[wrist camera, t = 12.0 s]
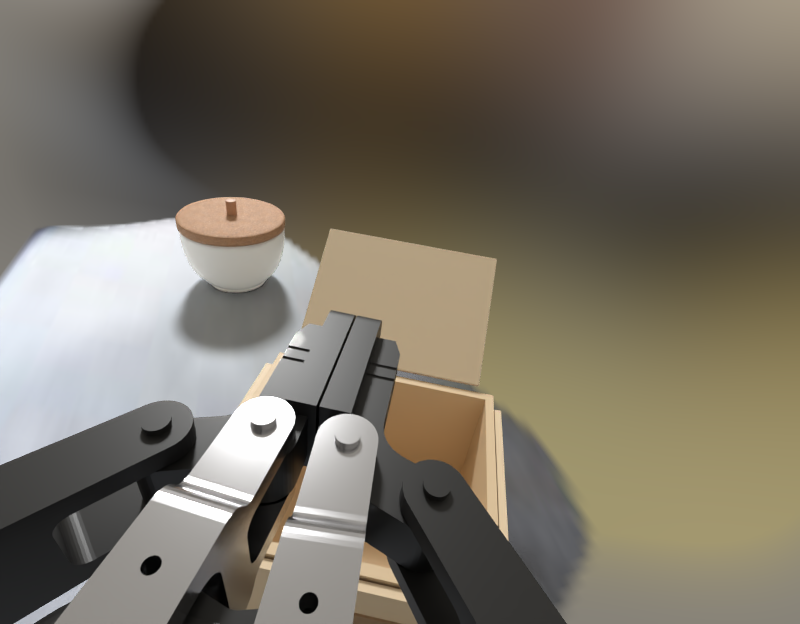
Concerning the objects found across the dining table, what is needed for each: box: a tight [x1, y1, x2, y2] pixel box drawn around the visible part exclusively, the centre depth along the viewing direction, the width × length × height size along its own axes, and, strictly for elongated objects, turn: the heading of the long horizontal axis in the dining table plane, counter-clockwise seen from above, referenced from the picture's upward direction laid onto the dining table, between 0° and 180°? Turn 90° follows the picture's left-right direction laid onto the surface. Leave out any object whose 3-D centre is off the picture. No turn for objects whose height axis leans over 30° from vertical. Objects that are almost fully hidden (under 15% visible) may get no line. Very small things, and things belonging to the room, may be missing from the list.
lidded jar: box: [175, 197, 285, 293], centre depth 46 cm, size 11×11×9 cm
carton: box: [237, 353, 508, 624], centre depth 24 cm, size 15×13×8 cm
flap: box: [302, 229, 497, 386], centre depth 29 cm, size 12×1×9 cm
